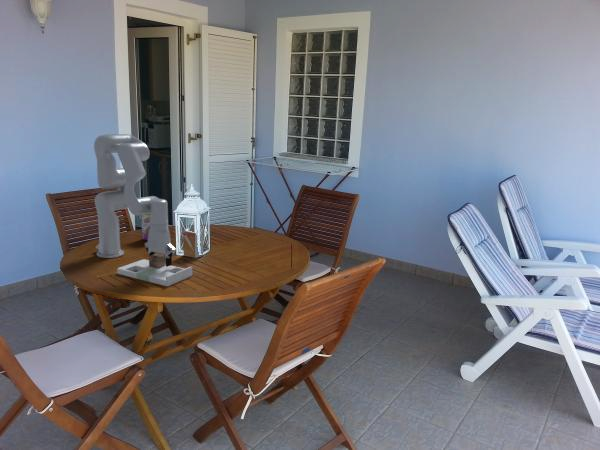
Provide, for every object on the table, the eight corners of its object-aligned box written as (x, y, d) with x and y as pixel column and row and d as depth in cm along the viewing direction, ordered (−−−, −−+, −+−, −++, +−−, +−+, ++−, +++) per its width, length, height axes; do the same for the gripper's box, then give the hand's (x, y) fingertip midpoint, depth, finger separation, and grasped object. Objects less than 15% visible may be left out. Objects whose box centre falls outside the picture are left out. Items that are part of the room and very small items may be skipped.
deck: (117, 273, 216) (117, 264, 215) (143, 264, 230) (143, 255, 229) (167, 286, 204) (167, 277, 203) (192, 275, 218) (192, 266, 217)
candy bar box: (141, 239, 271) (140, 210, 267) (148, 237, 275) (147, 209, 271) (155, 243, 265) (154, 213, 261) (162, 241, 269) (161, 212, 265)
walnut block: (149, 266, 220) (148, 255, 219) (157, 263, 224) (156, 253, 223) (157, 268, 218) (157, 257, 216) (165, 265, 222) (165, 255, 221)
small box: (182, 255, 246) (182, 230, 243) (191, 252, 251) (191, 228, 248) (195, 258, 242) (195, 233, 239) (203, 255, 247) (203, 230, 244)
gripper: (138, 225, 216) (139, 262, 220) (168, 231, 209) (169, 269, 213) (150, 222, 223) (151, 258, 227) (180, 228, 215) (181, 265, 219)
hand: (160, 263), depth 220 cm, fingers open, 9 cm apart
